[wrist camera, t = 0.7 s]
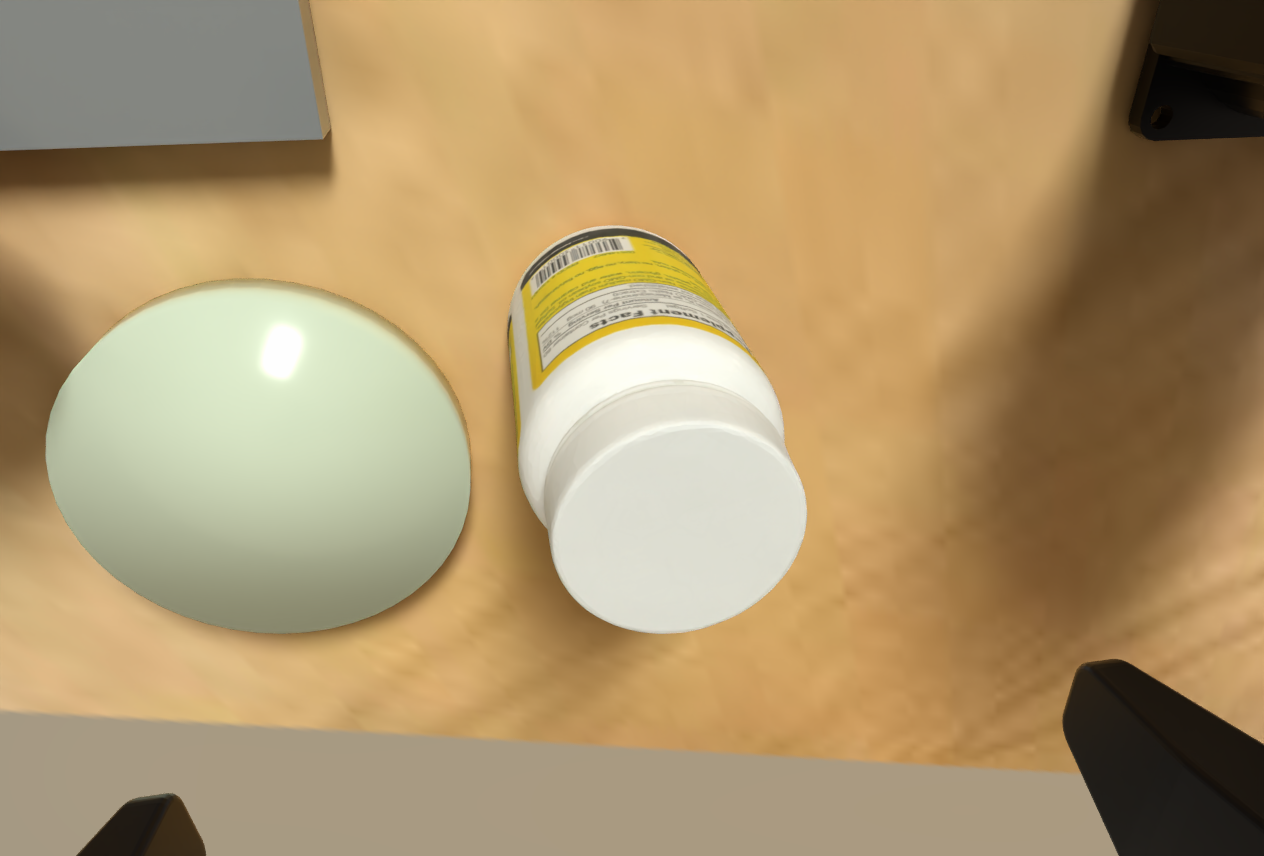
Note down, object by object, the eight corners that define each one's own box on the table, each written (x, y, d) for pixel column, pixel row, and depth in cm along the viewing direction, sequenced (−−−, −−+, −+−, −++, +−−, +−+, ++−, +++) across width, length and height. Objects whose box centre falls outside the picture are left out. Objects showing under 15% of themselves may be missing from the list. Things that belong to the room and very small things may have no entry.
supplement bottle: (652, 433, 22) (736, 682, 15) (475, 371, 20) (473, 618, 13) (744, 266, 20) (891, 460, 13) (557, 183, 18) (606, 352, 11)
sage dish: (449, 266, 19) (447, 286, 18) (486, 583, 24) (486, 613, 23) (6, 291, 18) (-23, 314, 17) (135, 618, 22) (118, 651, 21)
